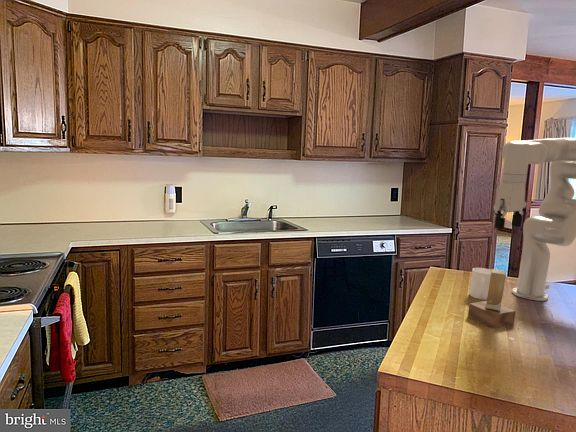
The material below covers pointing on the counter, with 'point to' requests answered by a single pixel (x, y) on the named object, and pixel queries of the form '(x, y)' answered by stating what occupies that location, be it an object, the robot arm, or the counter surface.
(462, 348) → the counter surface
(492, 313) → the walnut block
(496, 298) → the skincare box
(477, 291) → the mug
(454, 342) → the counter surface
